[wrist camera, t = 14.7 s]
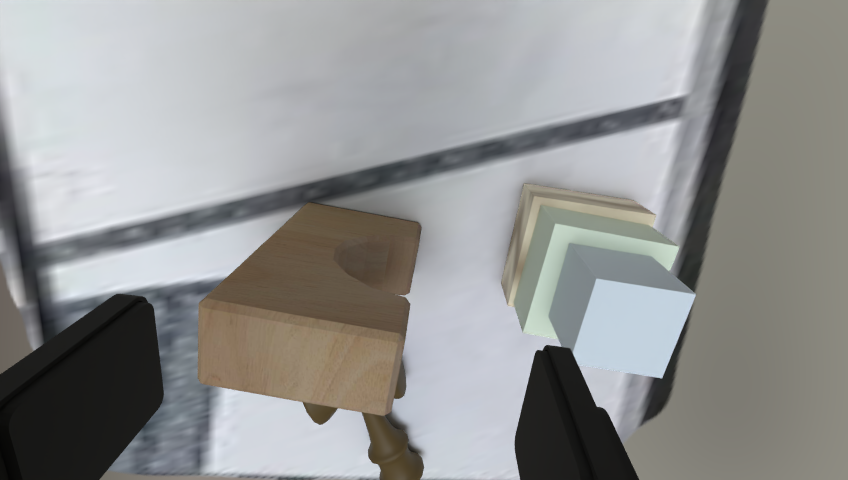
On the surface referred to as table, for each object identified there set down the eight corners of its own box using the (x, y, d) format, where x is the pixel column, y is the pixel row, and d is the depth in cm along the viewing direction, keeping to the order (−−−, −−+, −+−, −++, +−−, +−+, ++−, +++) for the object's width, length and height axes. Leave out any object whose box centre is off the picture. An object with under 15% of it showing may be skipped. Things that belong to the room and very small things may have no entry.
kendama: (367, 465, 53) (291, 327, 47) (444, 444, 52) (378, 299, 46) (360, 512, 48) (273, 363, 41) (446, 489, 47) (371, 331, 40)
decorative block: (423, 222, 42) (407, 338, 24) (411, 277, 44) (388, 424, 25) (306, 198, 42) (195, 296, 23) (299, 254, 44) (192, 386, 25)
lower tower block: (523, 182, 41) (533, 196, 36) (632, 199, 41) (656, 215, 36) (500, 281, 44) (507, 305, 40) (601, 297, 45) (619, 323, 40)
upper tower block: (540, 204, 37) (555, 223, 32) (649, 225, 37) (679, 246, 32) (513, 302, 40) (522, 333, 35) (613, 321, 40) (636, 353, 35)
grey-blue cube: (569, 242, 32) (596, 278, 27) (651, 256, 32) (696, 294, 27) (548, 316, 34) (569, 363, 29) (625, 328, 34) (662, 378, 29)
